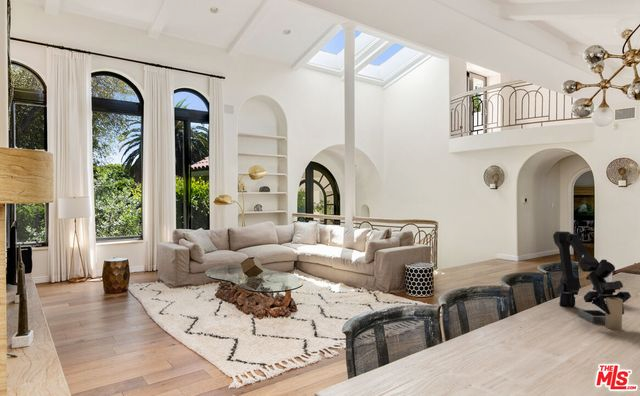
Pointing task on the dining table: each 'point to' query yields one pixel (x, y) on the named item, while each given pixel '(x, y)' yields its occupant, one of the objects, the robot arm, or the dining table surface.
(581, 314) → the tray
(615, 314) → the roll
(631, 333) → the dining table surface
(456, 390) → the dining table surface
